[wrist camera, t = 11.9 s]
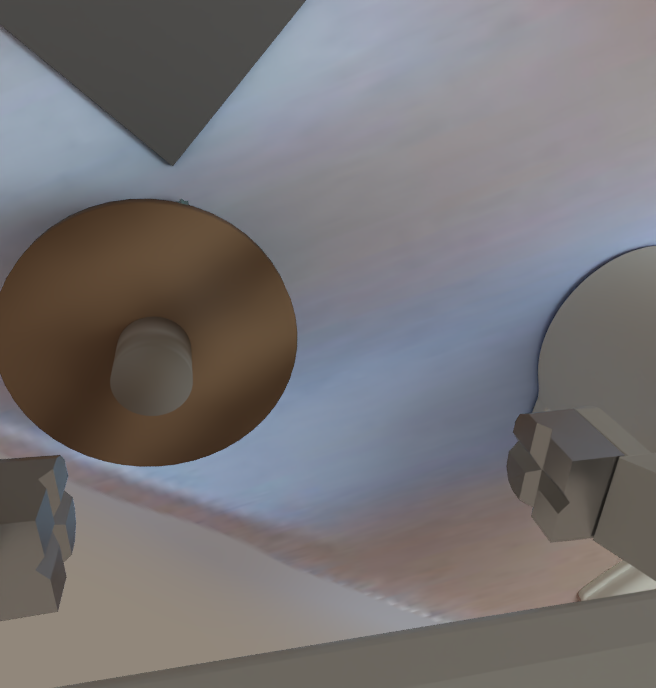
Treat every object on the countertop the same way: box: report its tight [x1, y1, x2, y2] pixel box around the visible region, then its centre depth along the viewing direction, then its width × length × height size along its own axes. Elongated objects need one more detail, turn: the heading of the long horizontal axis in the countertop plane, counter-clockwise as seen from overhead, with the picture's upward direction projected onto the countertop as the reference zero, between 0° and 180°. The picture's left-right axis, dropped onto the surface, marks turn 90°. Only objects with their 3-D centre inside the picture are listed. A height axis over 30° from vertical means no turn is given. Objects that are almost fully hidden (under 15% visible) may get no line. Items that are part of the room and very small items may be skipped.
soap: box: [578, 560, 656, 601], centre depth 54 cm, size 9×7×3 cm
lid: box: [0, 199, 297, 466], centre depth 25 cm, size 13×13×4 cm
